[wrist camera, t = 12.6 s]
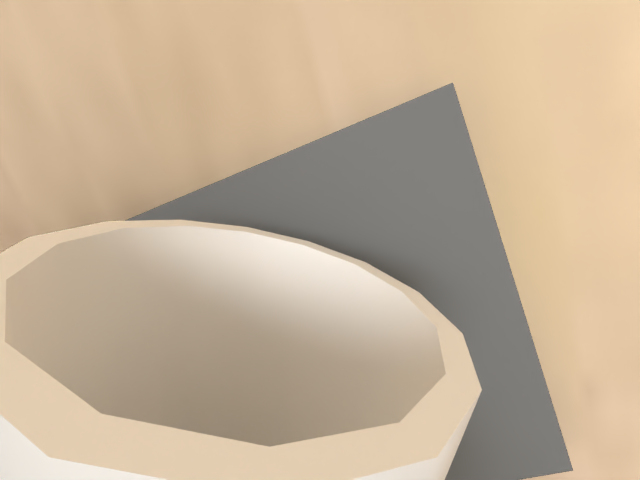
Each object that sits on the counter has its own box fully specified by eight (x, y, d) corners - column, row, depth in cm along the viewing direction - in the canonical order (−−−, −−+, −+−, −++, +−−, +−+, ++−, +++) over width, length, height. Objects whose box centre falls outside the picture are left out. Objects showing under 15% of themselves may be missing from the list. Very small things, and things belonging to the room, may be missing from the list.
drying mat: (177, 521, 20) (167, 540, 19) (37, 259, 18) (18, 265, 17) (561, 451, 16) (573, 470, 15) (447, 88, 13) (453, 82, 12)
